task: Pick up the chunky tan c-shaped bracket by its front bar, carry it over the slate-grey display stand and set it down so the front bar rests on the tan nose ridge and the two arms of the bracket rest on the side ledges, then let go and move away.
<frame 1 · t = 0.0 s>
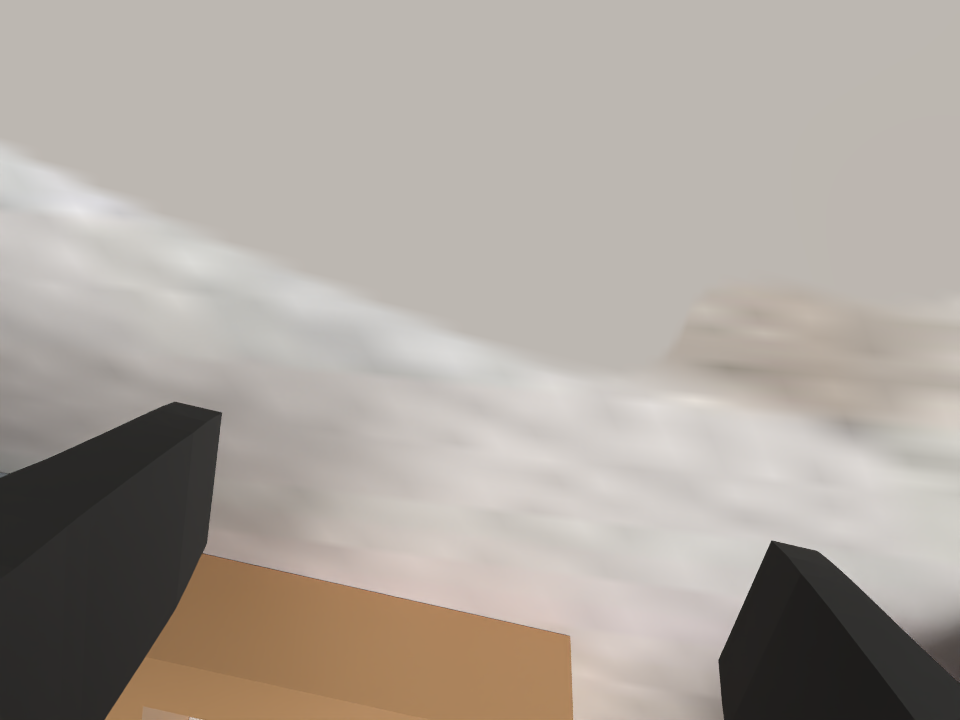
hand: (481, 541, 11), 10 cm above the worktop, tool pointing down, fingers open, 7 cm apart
tan c-shaped bracket: (357, 611, 25), on the worktop
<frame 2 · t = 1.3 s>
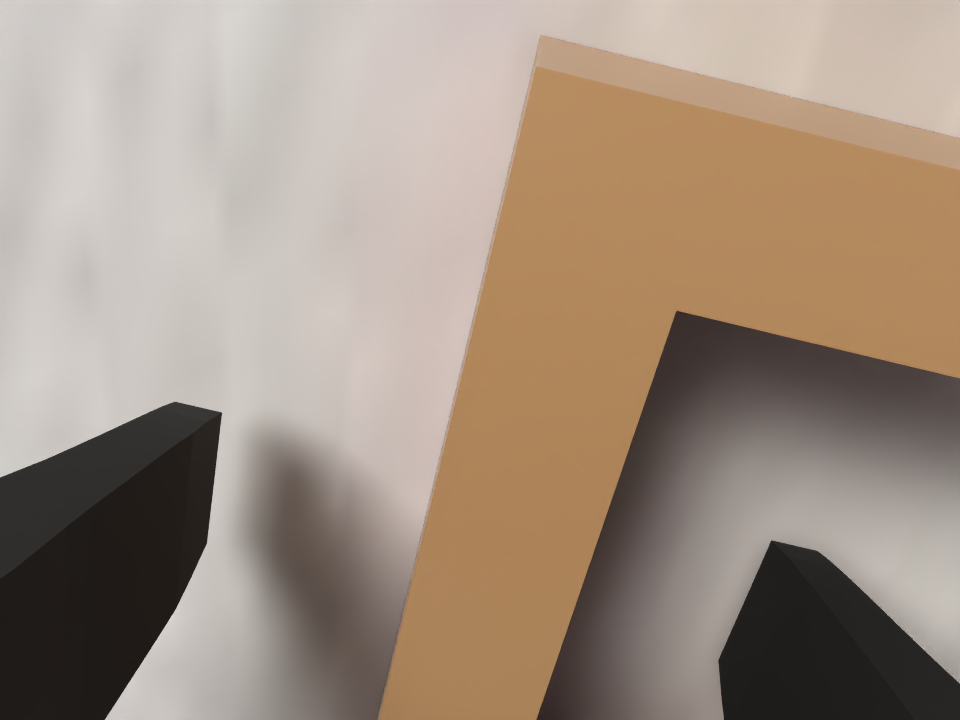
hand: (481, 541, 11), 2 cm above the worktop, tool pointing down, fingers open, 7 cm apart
tan c-shaped bracket: (491, 477, 13), on the worktop
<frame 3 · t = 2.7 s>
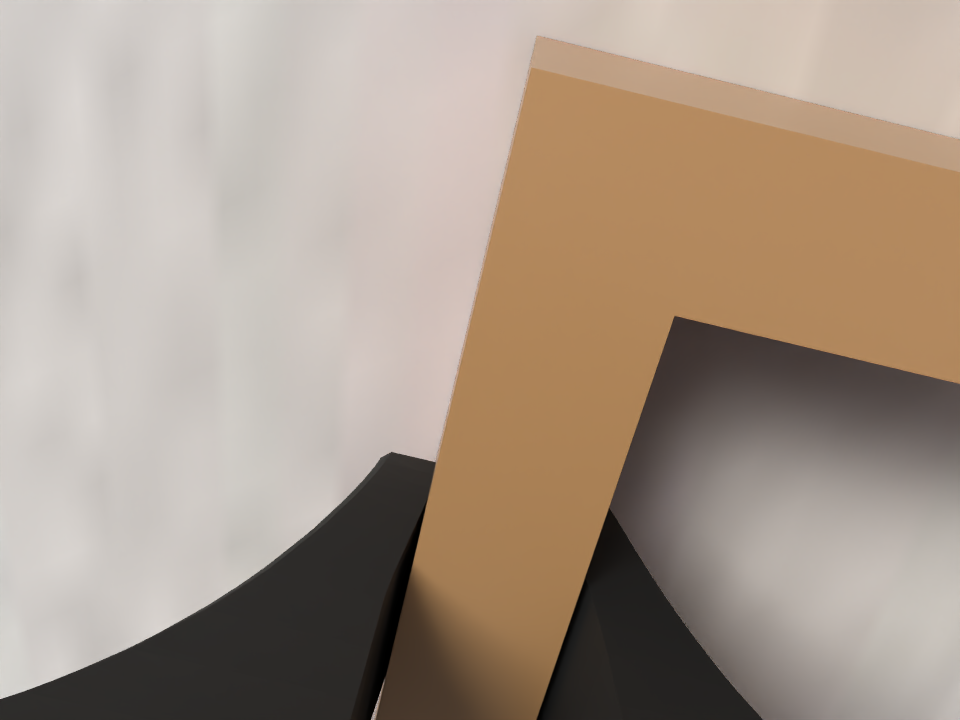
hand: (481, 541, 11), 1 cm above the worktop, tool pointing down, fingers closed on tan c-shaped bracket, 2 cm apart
tan c-shaped bracket: (487, 482, 12), on the worktop, touching gripper
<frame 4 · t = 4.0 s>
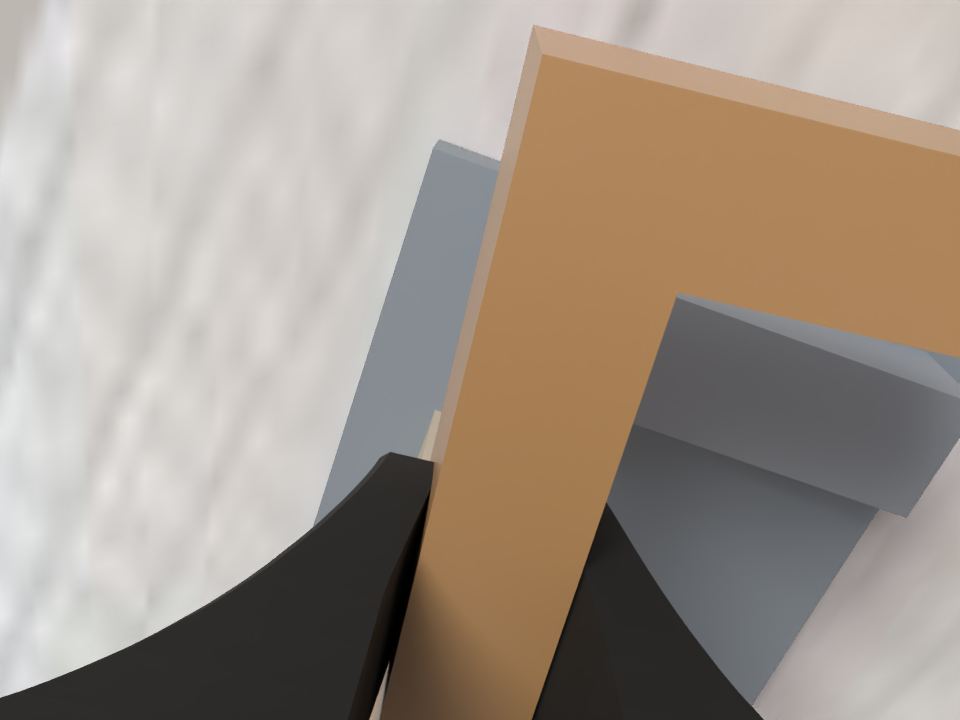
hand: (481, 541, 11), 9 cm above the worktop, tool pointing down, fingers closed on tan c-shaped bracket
tan c-shaped bracket: (485, 463, 13), point 7 cm above the worktop, touching gripper
display stand: (583, 497, 21), on the worktop
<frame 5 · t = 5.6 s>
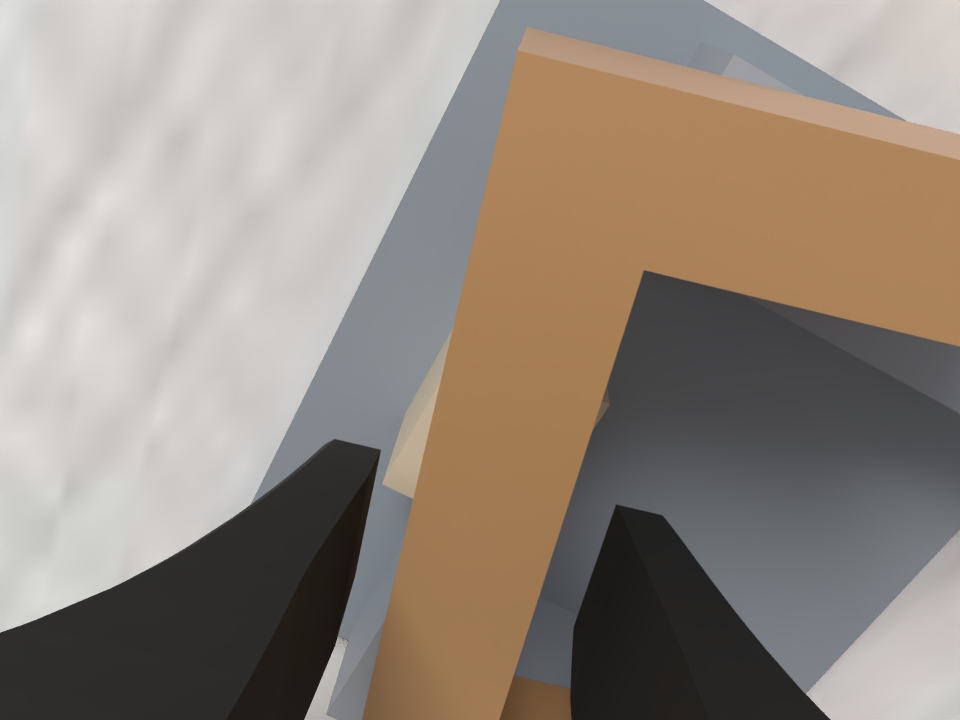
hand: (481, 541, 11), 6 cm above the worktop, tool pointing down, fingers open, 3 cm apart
tan c-shaped bracket: (482, 443, 13), point 3 cm above the worktop, touching display stand
display stand: (637, 425, 17), on the worktop
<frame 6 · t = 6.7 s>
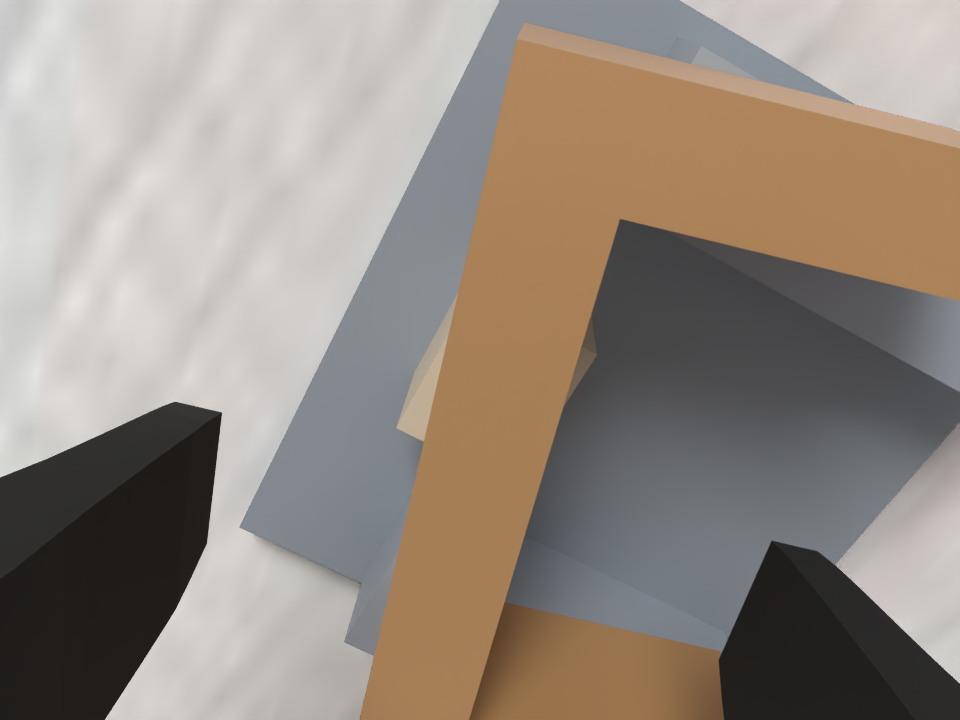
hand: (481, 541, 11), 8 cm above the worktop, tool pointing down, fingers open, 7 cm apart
tan c-shaped bracket: (485, 390, 15), point 3 cm above the worktop, touching display stand
display stand: (623, 384, 19), on the worktop
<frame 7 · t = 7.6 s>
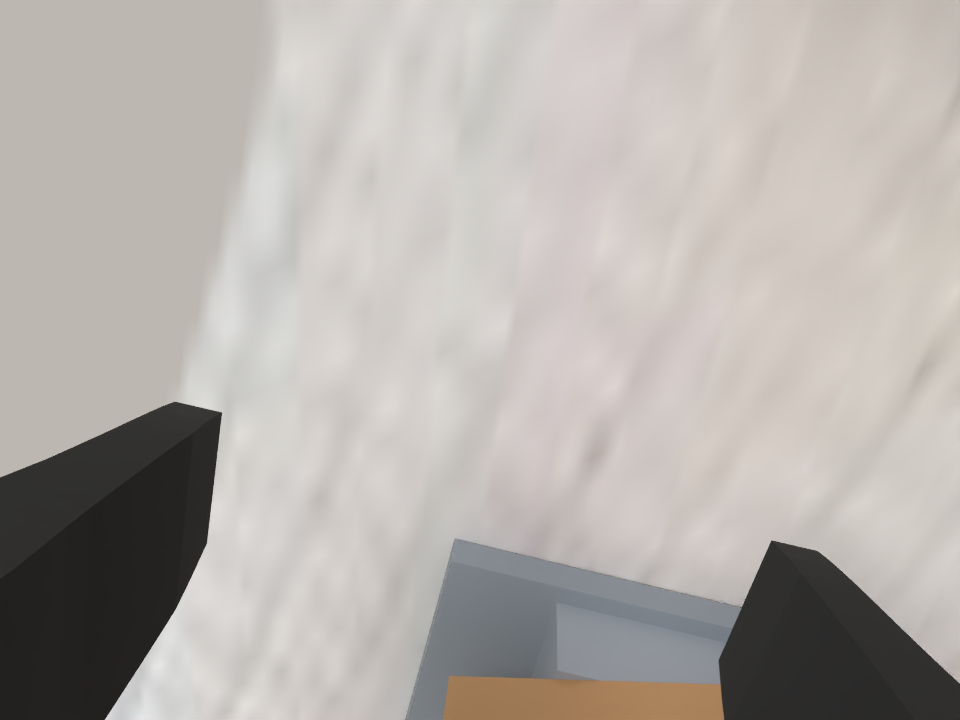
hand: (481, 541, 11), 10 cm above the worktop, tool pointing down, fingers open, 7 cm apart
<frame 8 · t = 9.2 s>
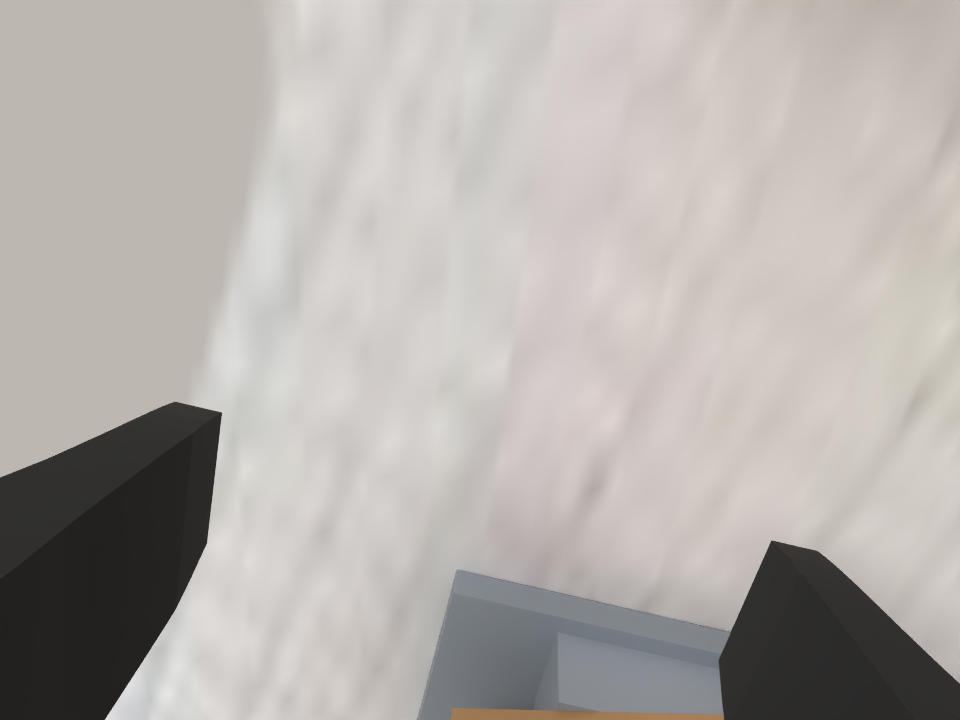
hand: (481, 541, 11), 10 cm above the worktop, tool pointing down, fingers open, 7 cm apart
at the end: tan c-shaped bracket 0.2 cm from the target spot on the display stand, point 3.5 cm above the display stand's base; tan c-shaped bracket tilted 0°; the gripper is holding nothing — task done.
